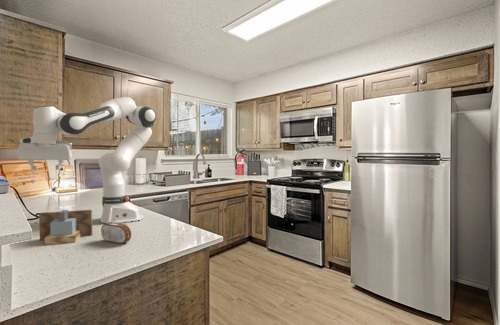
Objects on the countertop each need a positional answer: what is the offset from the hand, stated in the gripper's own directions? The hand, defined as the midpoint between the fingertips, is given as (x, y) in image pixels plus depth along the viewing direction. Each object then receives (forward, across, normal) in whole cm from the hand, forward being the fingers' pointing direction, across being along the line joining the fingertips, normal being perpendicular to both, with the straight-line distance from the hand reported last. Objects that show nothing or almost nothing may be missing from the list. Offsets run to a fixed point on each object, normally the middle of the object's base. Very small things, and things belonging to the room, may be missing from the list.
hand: (46, 169), depth 118 cm
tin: (+31, -32, +22) cm, 50 cm away
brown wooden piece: (+31, -10, +12) cm, 35 cm away
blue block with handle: (+28, -10, +12) cm, 32 cm away
